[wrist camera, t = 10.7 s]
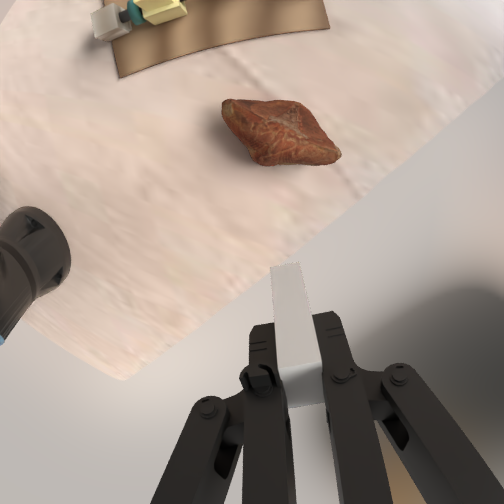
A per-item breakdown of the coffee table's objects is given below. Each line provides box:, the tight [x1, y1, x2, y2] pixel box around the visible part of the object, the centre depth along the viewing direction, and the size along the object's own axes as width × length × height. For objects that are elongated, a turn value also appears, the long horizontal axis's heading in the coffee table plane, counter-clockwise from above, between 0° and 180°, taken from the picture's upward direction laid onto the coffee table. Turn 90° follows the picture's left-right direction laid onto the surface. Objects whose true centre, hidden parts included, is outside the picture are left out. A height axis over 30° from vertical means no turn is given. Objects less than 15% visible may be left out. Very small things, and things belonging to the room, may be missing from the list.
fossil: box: [221, 99, 342, 166], centre depth 32 cm, size 13×8×10 cm
